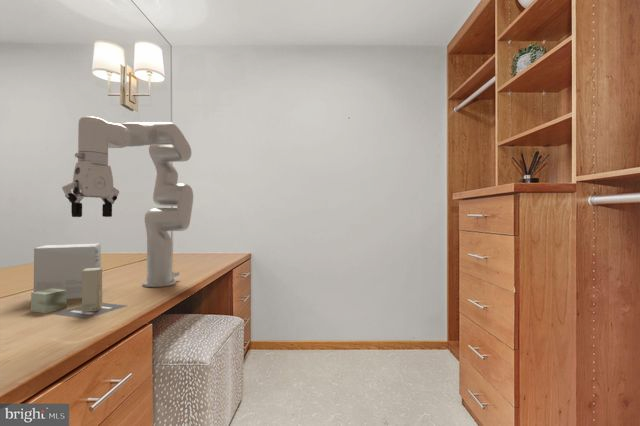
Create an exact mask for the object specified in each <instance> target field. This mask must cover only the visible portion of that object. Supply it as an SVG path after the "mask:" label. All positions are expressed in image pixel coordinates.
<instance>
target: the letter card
mask: <svg viewBox="0 0 640 426" xmlns="http://www.w3.org/2000/svg"><path fill="white" fill-rule="evenodd" d="M125 307H127V304H117V303H107V302H102V307H101V308H100V310H99V311H93V312H82V305H80V306H77V307H73V308H69V309H65V310H62V311H58V312H53V313H52V315H55V316H64V317H72V318H76V319H77V318H78V319H84V320H87V319H89V318H92V317H95V316H99V315H104V314H105V313H109V312H113V311H115V310H118V309H122V308H123V309H124V308H125Z"/></svg>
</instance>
